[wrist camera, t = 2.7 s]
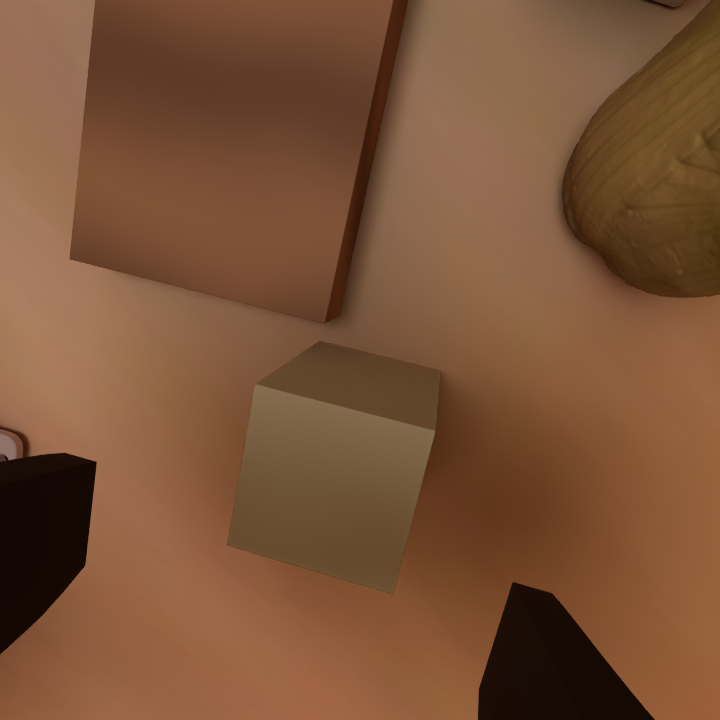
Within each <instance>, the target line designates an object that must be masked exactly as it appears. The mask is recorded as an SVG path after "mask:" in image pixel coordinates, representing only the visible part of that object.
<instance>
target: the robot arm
mask: <svg viewBox="0 0 720 720" xmlns="http://www.w3.org/2000/svg"><path fill="white" fill-rule="evenodd" d="M5 456H7V458H8V459H9V460H6V459H5ZM22 456H23V443H22V441H21V439H20V438H19V437H18V436H17V435H16V434H14V433H12V432H9V431H5V430H2V429H0V654H1V653H2V652H3V651H4V650H5V649H7V648H8V647H9V646H10V645H11V644H12V643H13V642H14V641H15V640H16V639H17V638H19V637H20V636H21V635H22V634H23V633H24V632H25V631H26V630H27V629H28V628H29V627H30V626H32V625H33V624H34V623H35V622H36V621H37V620H38V619H39V618H40V617H41V616H42V615H43V614H44V613H45V612H46V611H47V610H48V608H49V607H50V606H51V605H52V604H53V603H54V602H55V601H56V600H57V598H58V597H59V596H60V595H61V594H62V593H63V592H64V590H65V589H66V588H67V587H68V586H69V584H70V583H71V582H72V581H73V580H74V578H75V577H76V576H77V575H78V574H79V572H80V571H81V570H82V569H83V568H84V566H85V563H86V554H87V545H88V536H89V527H90V518H91V509H92V500H93V491H94V482H95V473H96V464H97V462H95V461H91V460H88V459H84V458H81V457H77V456H74V455H70V454H67V453H57V454H46V455H38V456H31V457H25V458H22ZM478 720H654V718H653V717H652V716H651V715H650V714H649V713H648V711H647V710H646V709H645V708H644V707H643V705H642V704H641V703H640V702H639V701H638V699H637V698H636V697H635V696H634V695H633V693H632V692H631V691H630V690H629V688H628V687H627V686H626V685H625V683H624V682H623V681H622V680H621V679H620V677H619V676H618V675H617V674H616V672H615V671H614V670H613V669H612V667H611V666H610V665H609V664H608V662H607V661H606V660H605V659H604V657H603V656H602V655H601V653H600V652H599V651H598V650H597V648H596V647H595V646H594V645H593V643H592V642H591V641H590V639H589V638H588V637H587V636H586V634H585V633H584V632H583V631H582V629H581V628H580V627H579V625H578V624H577V623H576V622H575V620H574V619H573V618H572V617H571V615H570V614H569V613H568V612H567V610H566V609H565V608H564V607H563V605H562V604H561V603H560V602H559V601H558V600H557V598H556V597H555V596H554V595H553V594H552V593H549V592H545V591H542V590H538V589H535V588H532V587H528V586H525V585H521V584H518V583H514V582H513V583H512V586H511V589H510V592H509V596H508V599H507V602H506V605H505V608H504V611H503V615H502V618H501V621H500V624H499V627H498V631H497V634H496V637H495V640H494V643H493V646H492V650H491V653H490V656H489V659H488V662H487V665H486V669H485V672H484V675H483V678H482V681H481V684H480V688H479V704H478Z"/></svg>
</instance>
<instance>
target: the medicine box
mask: <svg viewBox="0 0 720 720" xmlns="http://www.w3.org/2000/svg"><path fill="white" fill-rule="evenodd" d="M653 1H656V2H659V3H662V4H665V5H668V6H671V7H677V6H679V5H681V4H682V3H683V2H684V1H685V0H653Z"/></svg>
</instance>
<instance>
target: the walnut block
mask: <svg viewBox="0 0 720 720" xmlns="http://www.w3.org/2000/svg"><path fill="white" fill-rule="evenodd" d="M407 1H408V0H95V9H94V19H93V29H92V39H91V49H90V59H89V69H88V79H87V89H86V99H85V109H84V119H83V129H82V140H81V150H80V160H79V170H78V180H77V190H76V200H75V210H74V220H73V230H72V240H71V250H70V259H71V260H75V261H79V262H83V263H87V264H91V265H94V266H98V267H102V268H106V269H110V270H114V271H118V272H122V273H126V274H130V275H134V276H138V277H142V278H146V279H150V280H154V281H158V282H162V283H166V284H170V285H173V286H177V287H181V288H185V289H189V290H193V291H197V292H201V293H205V294H209V295H213V296H217V297H221V298H225V299H229V300H233V301H237V302H241V303H245V304H249V305H253V306H256V307H260V308H264V309H268V310H272V311H276V312H280V313H284V314H288V315H292V316H296V317H300V318H304V319H308V320H312V321H316V322H320V323H324V324H325V323H327V322H328V321H330V320H332V319H334V318H335V317H337V316H339V312H340V308H341V303H342V299H343V294H344V289H345V285H346V280H347V276H348V271H349V267H350V262H351V257H352V253H353V248H354V244H355V239H356V235H357V230H358V225H359V221H360V216H361V212H362V207H363V202H364V198H365V193H366V189H367V184H368V180H369V175H370V170H371V166H372V161H373V157H374V152H375V148H376V143H377V138H378V134H379V129H380V125H381V120H382V115H383V111H384V106H385V102H386V97H387V93H388V88H389V83H390V79H391V74H392V70H393V65H394V61H395V56H396V51H397V47H398V42H399V38H400V33H401V28H402V24H403V19H404V15H405V10H406V6H407Z"/></svg>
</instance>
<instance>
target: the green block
mask: <svg viewBox="0 0 720 720" xmlns="http://www.w3.org/2000/svg"><path fill="white" fill-rule="evenodd" d="M440 376H441V371H440V370H436V369H432V368H428V367H424V366H420V365H416V364H412V363H408V362H404V361H400V360H395V359H391V358H387V357H383V356H379V355H375V354H371V353H367V352H363V351H359V350H355V349H351V348H347V347H342V346H338V345H334V344H330V343H326V342H322V341H319V342H318V343H316V344H315V345H313V346H312V347H310V348H309V349H307V350H306V351H304V352H303V353H301V354H300V355H298V356H297V357H295V358H294V359H292V360H291V361H289V362H288V363H286V364H285V365H283V366H282V367H280V368H279V369H277V370H276V371H274V372H273V373H272V374H270V375H269V376H267V377H266V378H264V379H263V380H261V381H260V382H258V383H257V384H255V389H254V395H253V401H252V406H251V412H250V418H249V423H248V429H247V435H246V440H245V446H244V452H243V458H242V463H241V469H240V475H239V480H238V486H237V492H236V497H235V503H234V509H233V514H232V520H231V526H230V531H229V537H228V543H227V545H228V546H231V547H234V548H238V549H241V550H244V551H248V552H251V553H255V554H258V555H261V556H265V557H268V558H271V559H275V560H278V561H282V562H285V563H288V564H292V565H295V566H298V567H302V568H305V569H308V570H312V571H315V572H319V573H322V574H325V575H329V576H332V577H335V578H339V579H342V580H346V581H349V582H352V583H356V584H359V585H362V586H366V587H369V588H373V589H376V590H379V591H383V592H386V593H389V594H393V593H394V589H395V585H396V581H397V577H398V573H399V570H400V566H401V562H402V558H403V554H404V550H405V546H406V543H407V539H408V535H409V531H410V527H411V523H412V520H413V516H414V512H415V508H416V504H417V500H418V496H419V493H420V489H421V485H422V481H423V477H424V473H425V470H426V466H427V462H428V458H429V454H430V450H431V446H432V443H433V439H434V435H435V431H436V420H437V409H438V398H439V387H440Z"/></svg>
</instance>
